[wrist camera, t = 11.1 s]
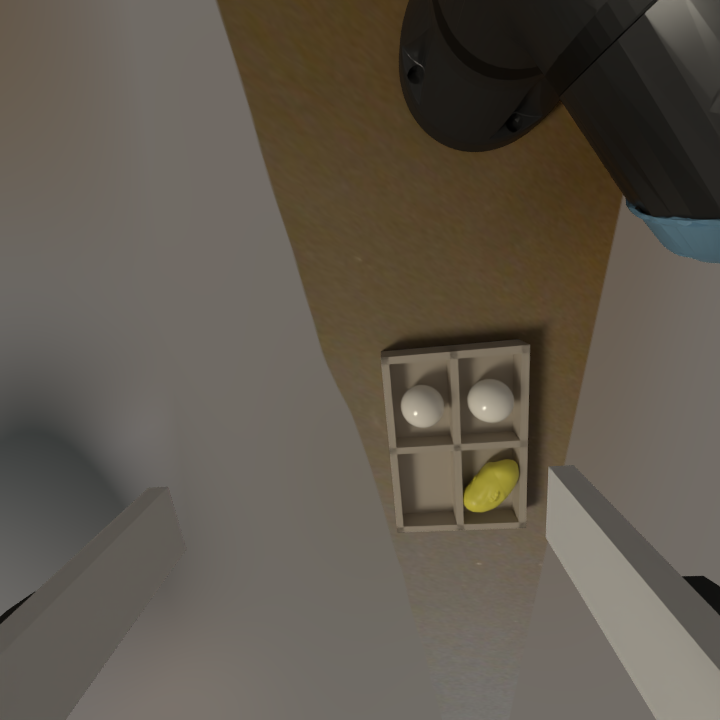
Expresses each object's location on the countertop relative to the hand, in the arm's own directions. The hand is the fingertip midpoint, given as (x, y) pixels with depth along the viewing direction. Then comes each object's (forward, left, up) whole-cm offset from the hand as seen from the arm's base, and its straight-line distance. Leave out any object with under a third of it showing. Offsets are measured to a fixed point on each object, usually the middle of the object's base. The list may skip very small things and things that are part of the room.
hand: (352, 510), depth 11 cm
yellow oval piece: (+9, +19, -26) cm, 34 cm away
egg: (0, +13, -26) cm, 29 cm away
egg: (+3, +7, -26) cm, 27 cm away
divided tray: (+6, +13, -27) cm, 30 cm away
